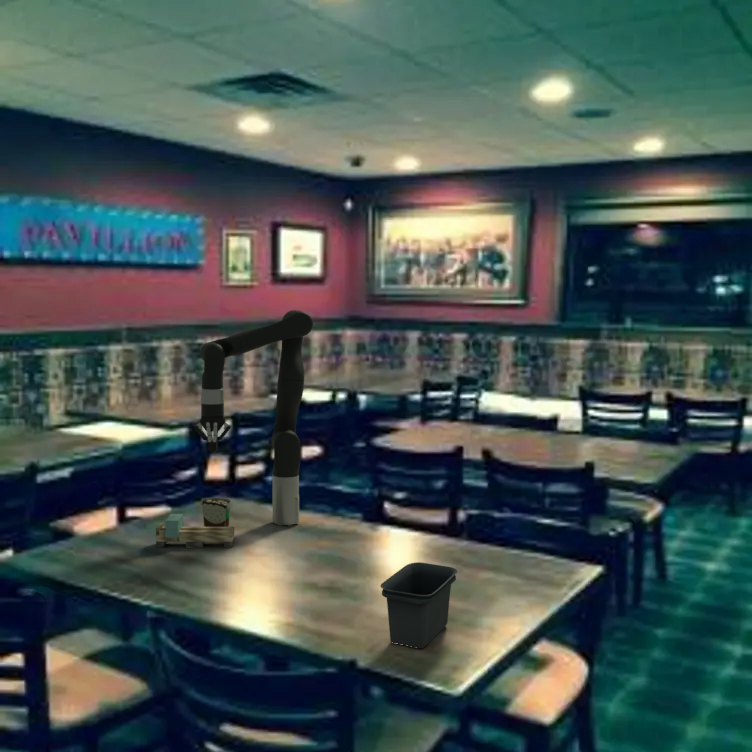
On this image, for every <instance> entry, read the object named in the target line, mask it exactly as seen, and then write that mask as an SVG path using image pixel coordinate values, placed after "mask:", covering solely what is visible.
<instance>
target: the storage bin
mask: <svg viewBox="0 0 752 752" xmlns="http://www.w3.org/2000/svg"><path fill="white" fill-rule="evenodd" d="M458 572H459V571H458V569H457V568H455V567H452V566H445V565H440V564H433V563H427V562H411V563H408V564H406V565H404V566H403V567H401V568H400V569H399V570H398V571H396V572H395V573H394V574H393V575H391V576H390V577H389V578H387V579H386V580H384V581H383V582H382V583H380V588H381V589H382V590H381V595H382V596H383V597H384V598H386V604H387V615H388V616H387V617H388V628H389V639H390V641H389V642H390V643H391V642H393V643H398V644H403V645H408V646H412V647H417V648H423V649H425V648H426V647H427V646H428V645H427V644H429V643H431V642H432V641H433V639H434V638H435V637H436V636H437V635H438V634H440V632H441V631H442V630H443V629H444V628H445V627H446V626H447V624H448V620H449V609H450V608H449V607H450V597H451V591H452V590H451V588H452V587H451V586H452V584H454V582H455V581H457V576H456V574H457V573H458ZM393 643H392V644H393ZM426 645H427V646H426ZM425 646H426V647H425ZM412 647H411V648H412ZM424 647H425V648H424ZM417 648H416V649H417Z"/></svg>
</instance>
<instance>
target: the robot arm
mask: <svg viewBox="0 0 752 752" xmlns="http://www.w3.org/2000/svg"><path fill="white" fill-rule="evenodd" d="M313 326H314V321H313V319H312V317H311V315H310V314H309V313H307V312H306V311H302V310H297V309H293V310H292V309H291V310H289V311H287V312H286V313H285V314H284V315H283V317H282V319H281V320H280V321H277V322H275V323H271V324H268V325H264V326H261V327H255V328H250V329H247V330H244V331H241V332H238V333H235V334H233V335H230V336H228V337H223V338H220V339H219V338H218V339H216V340H212V341H209V342H207V343H205V344H203V345H202V346H201V347H200V350H199V356H200V358H201V360H202V361H203V364H204V365H203V372H202V374H201V394H200V395H201V396H200V405H201V406H200V410H201V411H200V414H201V415H200V419H199V422H198V423H197V424H195V425H194V426H193V429H194V430H195V432H196V433H197V434H198V436H200V439H202V440H203V441H205V442H206V441H207V443H208V444H207V445H208V448H207V450H208V451H209V453H210V454H215V453H216V452H217V451H218V443H219V441H222V439H224V437H225V436H226V435H227V433H228V432H229V431H230V430H231V428H232V425H231V424H228V423H227V422H226V418H225V395H224V377H223V374H224V368H225V362H226V361H225V360H226V358H229V357H234V356H239V355H243V354H246V353H249V352H251V351H254V350H257V349H259V348H262V347H266V346H267V345H270V344H273V343H276V342H281V351H280V359H279V366H278V376H277V384H276V385H277V386H276V387H277V388H276V414H275V421H274V427H273V431H272V435H271V436H272V437H271V445H272V449H273V454H274V455H273V466H272V516H271V517H272V524H273V523H275V524H274V525H276V524H279V525H278V526H282V525H288V526H292V525H291V524H297V525H299V523H300V488H299V487H300V484H299V483H300V479H299V478H300V467H301V440H300V438H299V436H298V435H297V416H298V411H299V409H300V406H301V403H302V402H301V401H302V398H303V395H304V394H303V393H304V386H305V369H304V368H305V367H304V361H303V356H302V355H303V354H302V347H303V339H304V337H306V336H307V335H309V333H311V331H312V329H313ZM222 428H223V431H222V432H221V434H220V435H219V432H220V430H221V429H222ZM203 429H204V430H205V431H206V433H205V432H204V431H203ZM298 522H299V523H298Z"/></svg>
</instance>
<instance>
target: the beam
mask: <svg viewBox="0 0 752 752" xmlns="http://www.w3.org/2000/svg"><path fill="white" fill-rule="evenodd" d="M168 542H170V543H171V542H172V543H173V542H176V543H177V542H178V543H179V542H184V543H185V549H202V548H203V547H204V545H205V543H207V542H214V543H215V542H217V543H219V542H221V543H222V542H224V543H223V545H224V547H232V546H233V547H234V545H235V526H229V527H204V526H183V527H181V530H179V537H178V538H165V526H164V523H163V522H159V524H158V525H157V526H156V528H155V545H156V546H155V548H156V547H164V546H165V547H166V546H167V544H168ZM166 543H167V544H166ZM202 546H203V547H202ZM165 547H164V548H165ZM224 547H223V548H224ZM233 547H232V548H233Z"/></svg>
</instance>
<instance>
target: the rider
mask: <svg viewBox="0 0 752 752" xmlns="http://www.w3.org/2000/svg"><path fill="white" fill-rule="evenodd" d="M164 524H165V525H164V527H165V538H178V537H179V530H181V527H184V513H170V514H169V515H168V517H167V518H166V519H165V523H164Z"/></svg>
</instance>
